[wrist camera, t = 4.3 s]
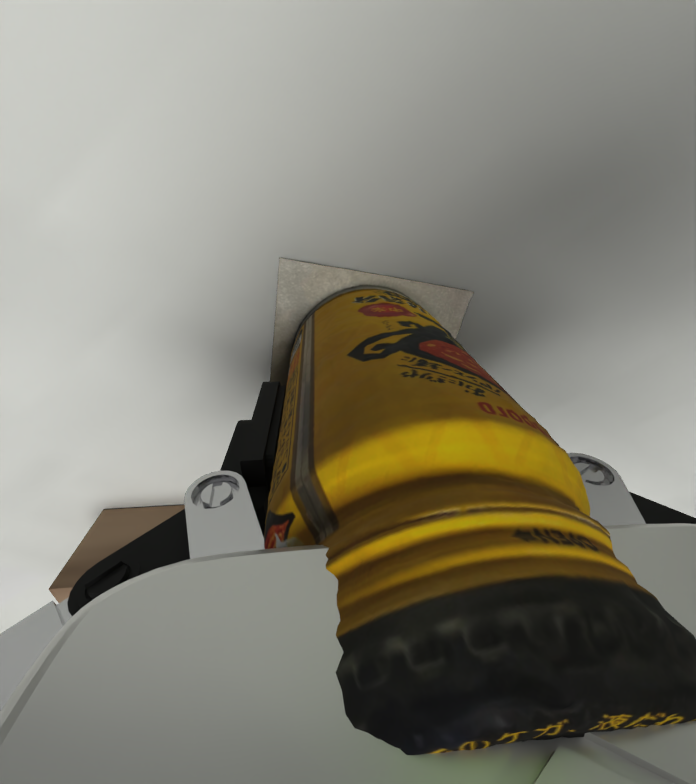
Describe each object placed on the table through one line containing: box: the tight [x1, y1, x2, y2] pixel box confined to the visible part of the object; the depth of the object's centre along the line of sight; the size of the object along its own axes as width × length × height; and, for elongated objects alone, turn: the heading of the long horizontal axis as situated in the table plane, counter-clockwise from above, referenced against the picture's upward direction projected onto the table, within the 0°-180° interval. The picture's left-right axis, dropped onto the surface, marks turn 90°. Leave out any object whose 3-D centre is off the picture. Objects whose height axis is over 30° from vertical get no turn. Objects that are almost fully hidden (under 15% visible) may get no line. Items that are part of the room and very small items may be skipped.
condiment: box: [264, 258, 696, 755], centre depth 9 cm, size 7×8×12 cm
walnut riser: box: [49, 505, 185, 603], centre depth 18 cm, size 10×10×4 cm
